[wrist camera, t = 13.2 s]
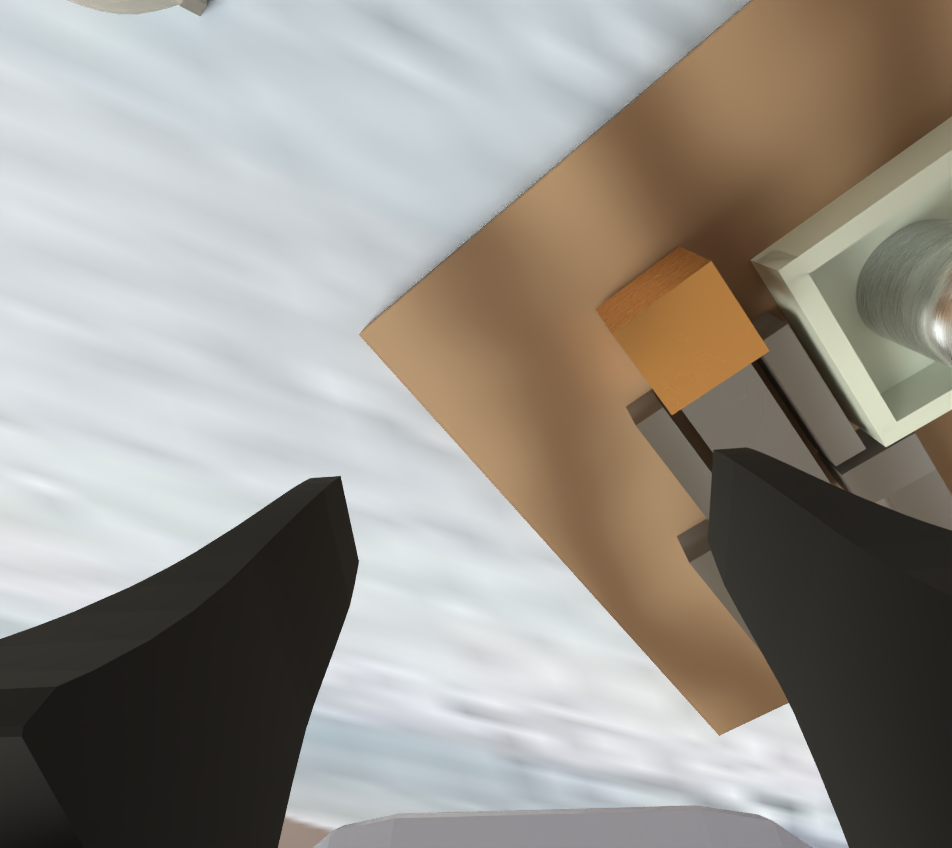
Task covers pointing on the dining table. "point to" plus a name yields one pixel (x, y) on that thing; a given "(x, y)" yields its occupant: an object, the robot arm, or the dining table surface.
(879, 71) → the holder
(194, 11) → the adjustable wrench
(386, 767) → the dining table surface
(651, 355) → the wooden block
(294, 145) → the dining table surface
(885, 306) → the peg
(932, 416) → the tray
